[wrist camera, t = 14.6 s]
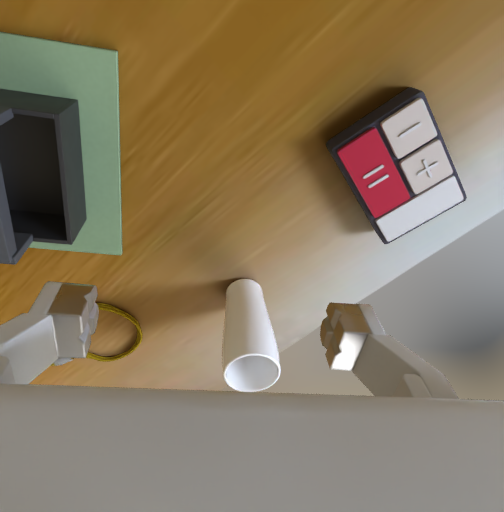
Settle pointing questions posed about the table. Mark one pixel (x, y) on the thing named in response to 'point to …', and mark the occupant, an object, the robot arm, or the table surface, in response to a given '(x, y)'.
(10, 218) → the caddy bin
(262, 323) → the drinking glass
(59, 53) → the desk mat
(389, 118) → the calculator
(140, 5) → the table surface
